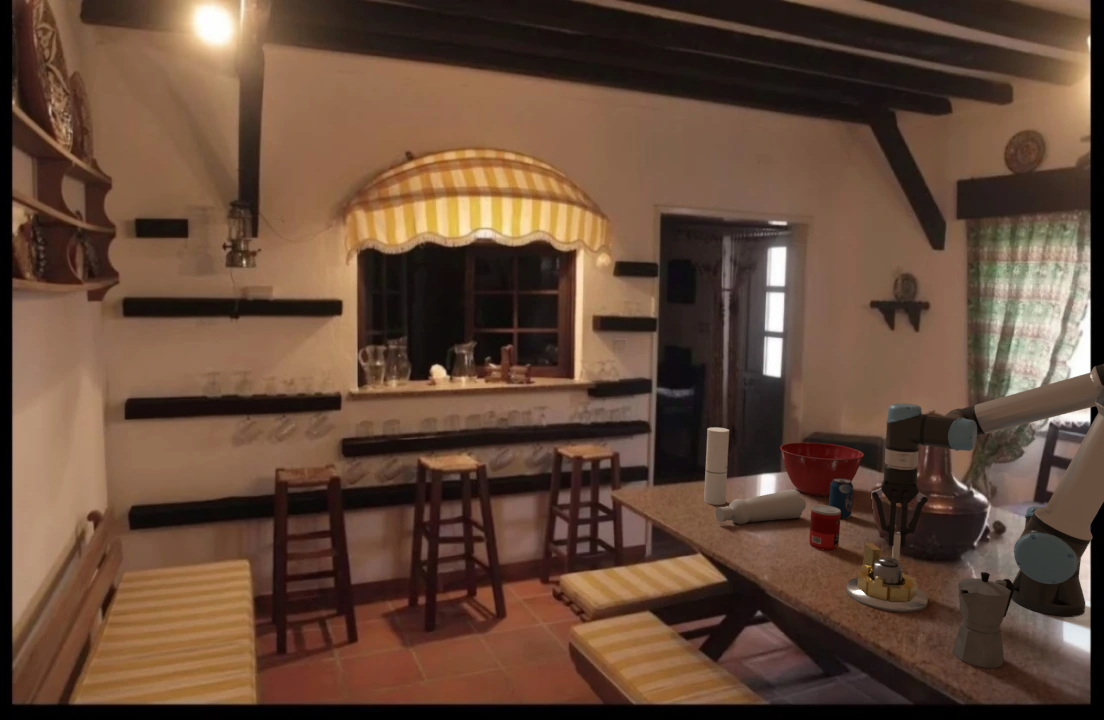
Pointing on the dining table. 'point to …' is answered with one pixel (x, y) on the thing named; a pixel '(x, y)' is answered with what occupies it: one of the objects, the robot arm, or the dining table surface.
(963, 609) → the coffeepot
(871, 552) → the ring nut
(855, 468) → the mixing bowl
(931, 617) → the dining table surface
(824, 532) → the canned food
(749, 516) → the bottle
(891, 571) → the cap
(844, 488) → the soda can
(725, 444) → the cylindrical container
